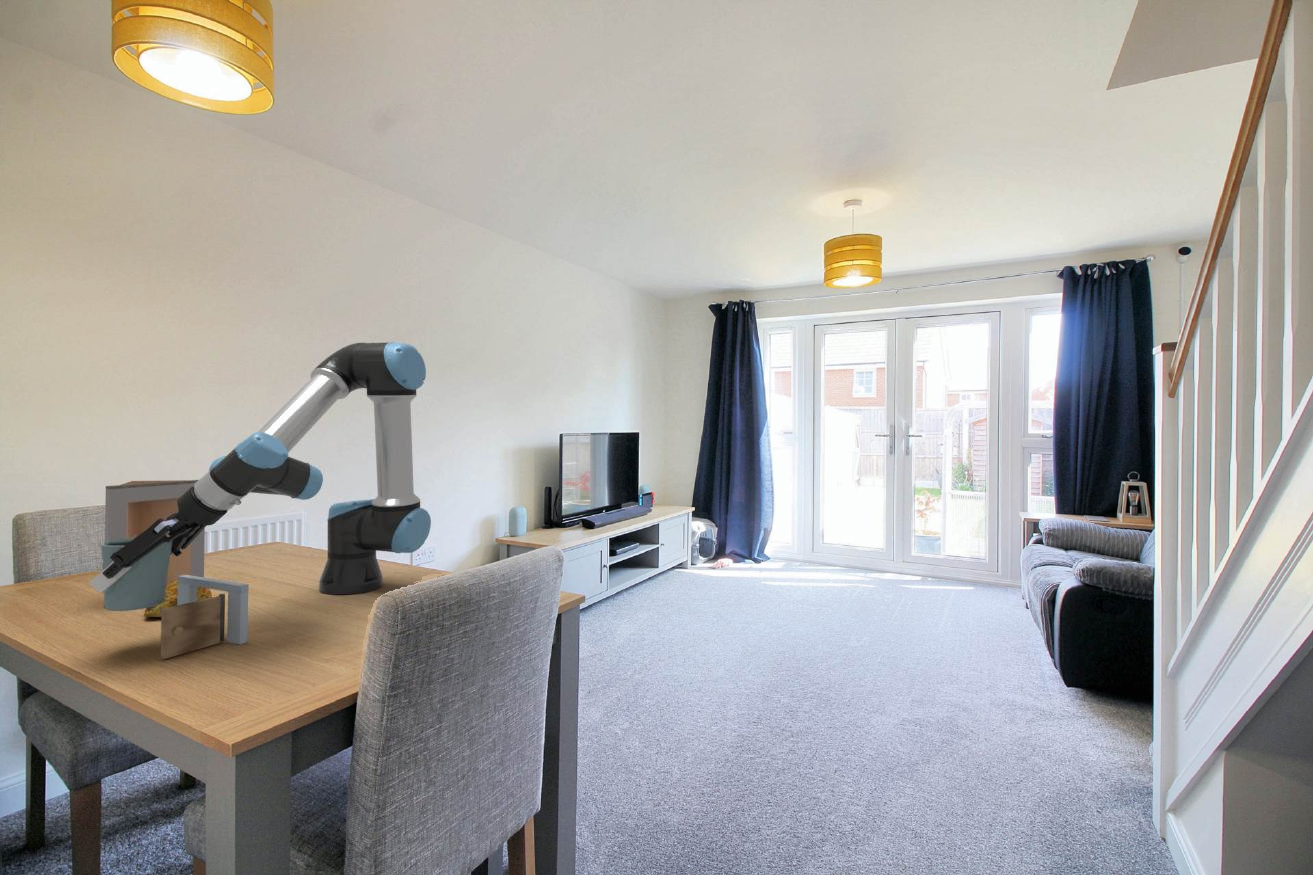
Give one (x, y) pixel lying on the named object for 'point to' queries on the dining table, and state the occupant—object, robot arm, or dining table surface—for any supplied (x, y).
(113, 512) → the cabinet
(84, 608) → the dining table surface
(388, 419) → the robot arm
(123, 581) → the teal cup
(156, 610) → the rock
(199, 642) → the door
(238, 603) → the grey rectangular arch
